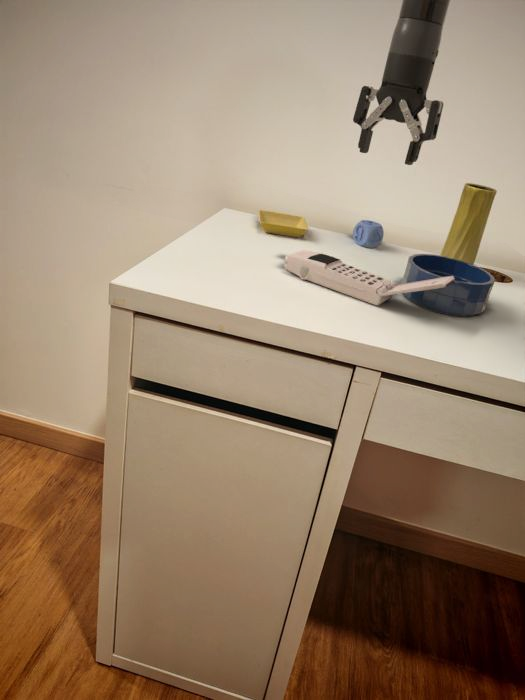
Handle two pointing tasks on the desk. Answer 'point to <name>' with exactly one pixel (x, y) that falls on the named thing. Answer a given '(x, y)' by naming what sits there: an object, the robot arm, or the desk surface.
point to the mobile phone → (352, 277)
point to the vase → (469, 223)
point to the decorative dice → (368, 233)
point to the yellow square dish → (282, 223)
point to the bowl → (457, 297)
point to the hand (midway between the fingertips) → (385, 158)
